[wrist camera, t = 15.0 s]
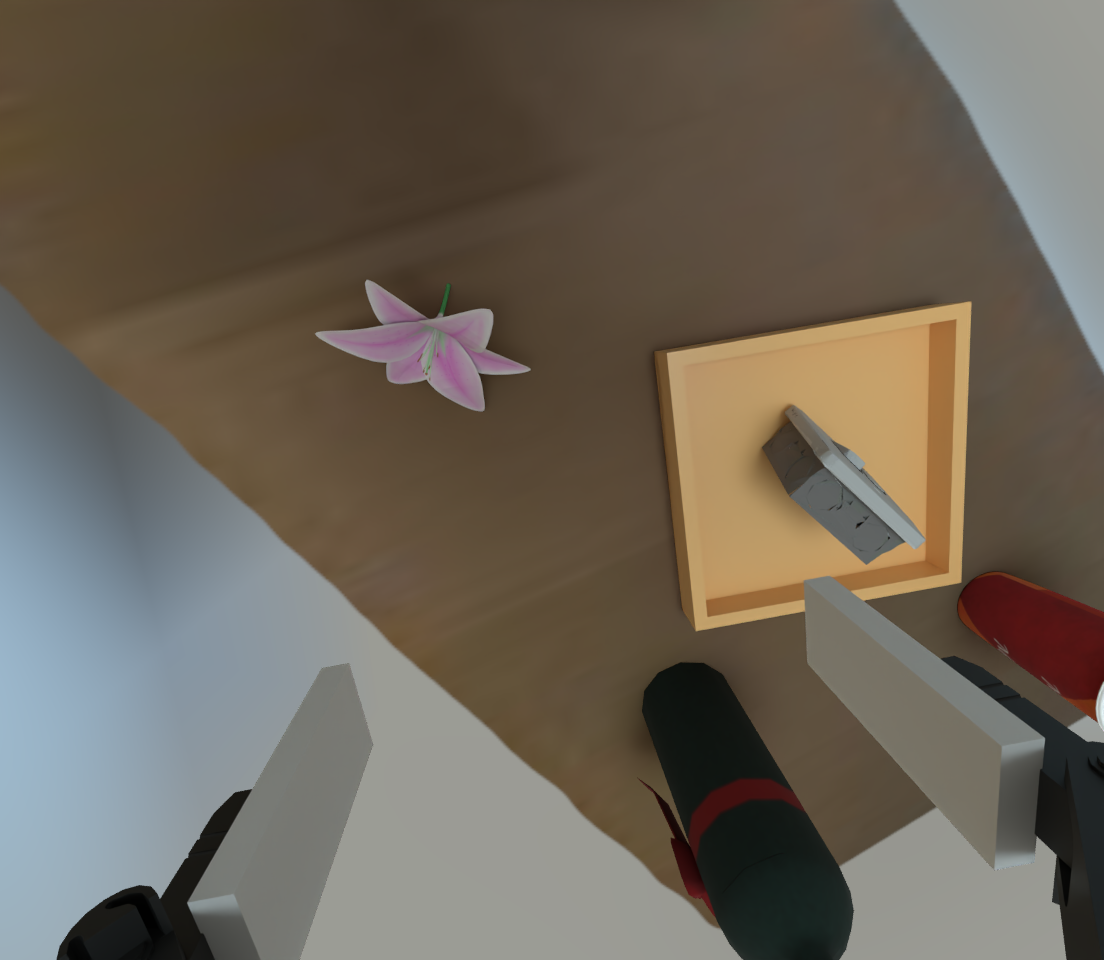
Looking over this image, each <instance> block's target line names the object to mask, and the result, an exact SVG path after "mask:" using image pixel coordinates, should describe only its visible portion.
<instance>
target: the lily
mask: <svg viewBox="0 0 1104 960" xmlns="http://www.w3.org/2000/svg"><path fill="white" fill-rule="evenodd" d="M365 287H366V292H367V295H368V298H369V302H370V304H371V306H372V309H373V311H374V313H375V315H376V316H377V318H378V320H379V321H380V322H381V323H382V324H383V326H377V327H371V328H365V329H357V330H344V331H322V332H317V333H316V334H315V335H316V336H317V337H319V338H320V339H321V340H323V341H325V342H327V343H328V344H330V345H332V346H335V347H337V348H339V349H341V350H343V351H345V352H348V353H350V354H353V355H355V356H358V357H360V358H364V359H367V360H371V361H374V362H384V363H387V365H386V374H387V379H388V381H390V382H392V383H395V384H406V383H414V382H419V381H423V380H426V379H427V381H428V382H429V384H430V385H431V386H432V387H433V388H434V389H435V390H436V391H438V392H439V393H441V394H442V395H443V396H445V397H446V398H448V399H450V400H452V401H454V402H456V403H457V404H460V405H462V406H464V407H466V408H469V409H472V410H474V411H481V412H482V411H484V409H485V402H484V396H483V389H482V383H481V379H480V376H479V374H478V373H482V374H491V375H505V374H518V373H524V372H528V371H530V370H531V369H530V368H529V367H526V366H524V365H522V364H519V363H517V362H515V361H512V360H510V359H508V358H505V357H503V356H500V355H498V354H496V353H493V352H491V351H489V350H487V349H486V346H487V344H488V341H489V337H490V334H491V330H492V326H493V313H492V312H491V310H490V309H483V308H482V309H476V310H470V311H466V312H462V313H458V314H454V315H450V316H446V317H443V315H444V311H445V308H446V304H447V300H448V296H449V292H450V287H451V285H450V284H449V283H448V284H447V285H446V289H445V293H444V297H443V301H442V305H441V308H440V311H439V314H438V316H437V317H436V318H434V319H429V318H427V317H425V316H424V315H422V314H420V313H419V312H417V311H416V310H414V309H413V308H411V307H410V306H408V305H407V304H405V303H404V302H403V301H401V300H400V299H398V298H397V297H395V296H394V295H392V294H391V293H389V292H388V291H386V290H385V289H383V288H382V287H380V286H379V285H377V284H376V283H374V282H372V281H370V280H366V282H365Z"/></svg>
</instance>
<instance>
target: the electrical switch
mask: <svg viewBox="0 0 1104 960" xmlns="http://www.w3.org/2000/svg"><path fill="white" fill-rule="evenodd" d="M785 415H786V416H787V417H788V418H789V419H790V422H789V423H787V424H786V425H785V426H784V427H783V428H781V429H780V430H779V431H778V433H777V434H776V435H775V436H774V437H773V438H772V439H771V440H770V441H768V442H767V443H766V444H765V445H764V446H763V447H762V449H763V450H764V452H765V454H766V456H767V458H768V459H769V461H770V463H771V465H772V467H773V468H774V470H775V472H776V474H777V476H778V477H779V479H780V481H781V483H782V485H783V486H784V488H785V490H786V492H787V494H788V495H789V494H790V493H792V492H793V491H794V492H793V493H792V494H790V495H789V497H791V498H792V499H793V500H794V501H795V502H796V503H797V504H798V505H800V506H801V507H802V508H803V509H804V510H805V511H806V512H807V513H808V514H810V515H811V516H812V517H813V518H814V519H815V520H816V521H817V522H819V523H820V524H821V525H822V526H823V527H824V528H825V529H826V530H828V531H829V532H830V533H831V534H832V535H833V536H834V537H835V538H836V539H838V540H839V541H840V542H841V543H842V544H843V545H844V546H845V547H847V548H848V549H849V550H850V551H851V552H852V553H853V554H854V555H856V556H857V557H858V558H859V559H860V560H861V561H862V562H863V563H864V564H866V565H867V564H869V563H870V562H871V561H873V560H874V559H876V558H877V557H878V556H880V555H881V554H883V553H886V552H888V551H891V550H892V549H894V548H895V547H897V546H898V545H900V544H902V543H905V542H907V543H908V544H909V545H910V546H911V547H912V548H913V549H917V548H918V547H919V546H920V545H921V544H922V543H924V542H925V541H926V539H925V538H924V536H923V535H922V534H921V532H920V531H919V530H918V529H917V527H916V526H915V525H914V523H913V522H912V521H911V520H910V519H909V517H908V516H907V515H906V514H905V513H904V512H903V511H902V510H901V509H900V507H899V506H898V505H897V504H896V503H895V502H894V501H893V500H892V499H891V497H890V496H889V495H888V494H887V493H886V492H885V491H884V490H883V489H882V487H881V486H880V485H879V484H878V483H877V482H876V481H875V480H874V479H873V478H872V476H871V475H870V474H869V473H868V472H866V471H865V470H864V469H863V468H862V467H863V466H864V465H865V462H864V461H863V460H862V459H861V458H860V457H859V456H858V455H857V454H855V453H854V452H853V451H851V450H850V449H848V448H846V447H844V446H842V445H840V444H838V443H837V442H835V441H834V440H833V439H832V438H831V437H829V436H828V435H827V434H826V433H825V432H824V431H823V430H822V429H821V428H820V427H819V426H818V425H817V424H816V423H815V422H814V421H813V420H812V419H810V418H809V417H808V416H807V415H806V414H805V413H804V412H803V411H802V410H800V409H799V408H798V407H796V406H795V405H793V406H791V407H790V408H789V409H788V410H786V411H785ZM786 476H787V477H786ZM801 485H802V486H801ZM797 488H798V489H797ZM796 489H797V490H796ZM809 505H810V506H811V508H810V506H809Z"/></svg>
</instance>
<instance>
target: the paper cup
mask: <svg viewBox="0 0 1104 960" xmlns="http://www.w3.org/2000/svg"><path fill="white" fill-rule="evenodd" d="M958 614H959V617H960V619H961V621H962V622H963V623H964V624H965V625H966V626H967V627H968V628H970V629H971V630H972V631H973V632H975V633H976V634H977V635H979V636H980V637H981V638H983V639H984V640H985V641H987V642H988V643H989V644H991V645H992V646H993V647H995V648H996V649H997V650H999V651H1000V652H1002V653H1003V654H1004V655H1006V656H1007V657H1008V658H1010V659H1011V660H1012V661H1014V662H1015V663H1017V664H1018V665H1019V666H1021V667H1022V668H1023V669H1025V670H1026V671H1028V672H1029V673H1030V674H1032V675H1033V676H1034V677H1036V678H1037V679H1039V680H1040V681H1041V682H1043V683H1044V684H1045V685H1047V686H1048V687H1050V688H1051V689H1052V690H1054V691H1055V692H1056V693H1058V694H1059V695H1061V696H1062V697H1063V698H1065V699H1066V700H1067V701H1069V702H1070V703H1072V704H1073V705H1074V706H1076V707H1077V708H1078V709H1080V710H1081V711H1083V712H1084V713H1085V714H1087V715H1088V716H1089V717H1091V718H1092V719H1093V720H1095V721H1096V722H1098V724H1099V725H1100V727H1101V729H1102V730H1103V731H1104V612H1102V611H1100V610H1097V609H1095V608H1092V607H1090V606H1087V605H1085V604H1082V603H1080V602H1077V601H1075V600H1073V599H1070V598H1068V597H1065V596H1063V595H1060V594H1058V593H1055V592H1053V591H1050V590H1048V589H1045V588H1043V587H1040V586H1038V585H1035V584H1033V583H1030V582H1028V581H1025V580H1023V579H1020V578H1017V577H1015V576H1012V575H1009V574H1006V573H1002V572H988V573H985V574H982V575H980V576H978V577H976V578H975V579H973V580H972V581H971V582H970V583H969V584H968V585H967V586H966V587H965V588H964V590H963V591H962V593H961V595H960V597H959V600H958Z"/></svg>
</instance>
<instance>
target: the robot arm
mask: <svg viewBox="0 0 1104 960" xmlns="http://www.w3.org/2000/svg"><path fill="white" fill-rule="evenodd" d="M804 598H805V620H806V642H807V663H808V665H809V666H810V667H811V668H812V669H813V670H814V671H815V672H816V673H817V675H818V676H819V677H820V678H821V679H822V680H823V681H824V682H825V683H826V685H827V686H828V687H829V688H830V689H831V690H832V691H833V692H834V693H835V695H836V696H837V697H838V698H839V699H840V700H841V701H842V702H843V703H844V705H845V706H846V707H847V708H848V709H849V710H850V711H851V712H852V713H853V714H854V716H855V717H856V718H857V719H858V720H859V721H860V722H861V723H862V724H863V726H864V727H865V728H866V729H867V730H868V731H869V732H870V733H871V734H872V736H873V737H874V738H875V739H876V740H877V741H878V742H879V743H880V744H881V746H882V747H883V748H884V749H885V750H886V751H887V752H888V753H889V754H890V755H891V757H892V758H893V759H894V760H895V761H896V762H897V763H898V764H899V765H900V767H901V768H902V769H903V770H904V771H905V772H906V773H907V774H908V775H909V777H910V778H911V779H912V780H913V781H914V782H915V783H916V784H917V785H918V787H919V788H920V789H921V790H922V791H923V792H924V793H925V794H926V795H927V797H928V798H929V799H930V800H931V801H932V802H933V803H934V804H935V805H936V806H937V808H938V809H939V810H940V811H941V812H942V813H943V814H944V815H945V816H946V818H947V819H948V820H949V821H950V822H951V823H952V824H953V825H954V826H955V828H956V829H957V830H958V831H959V832H960V833H961V834H962V835H963V836H964V838H965V839H966V840H967V841H968V842H969V843H970V844H971V845H972V846H973V847H974V849H975V850H976V851H977V852H978V853H979V854H980V855H981V856H982V857H983V859H984V860H985V861H986V862H987V863H988V864H989V865H990V866H991V867H992V868H993V870H999V869H1004V868H1009V867H1014V866H1019V865H1024V864H1029V863H1034V860H1035V848H1036V837H1037V836H1038V838H1039V839H1041V840H1042V841H1043V842H1044V843H1045V844H1046V845H1047V846H1048V847H1049V848H1050V849H1051V850H1052V851H1053V852H1054V853H1055V854H1056V855H1057V858H1056V869H1055V878H1054V889H1053V898H1052V902H1054V903H1056V904H1059V905H1060V911H1061V919H1062V927H1063V935H1064V943H1065V951H1066V959H1067V960H1104V743H1101V742H1093V741H1092V742H1087V741H1085V740H1084V739H1082V738H1081V737H1080V736H1078V735H1077V734H1075V733H1074V732H1072V731H1071V730H1070V729H1068V728H1067V727H1065V726H1064V725H1063V724H1061V723H1060V722H1058V721H1057V720H1055V719H1054V718H1053V717H1051V716H1050V715H1048V714H1047V713H1046V712H1044V711H1043V710H1041V709H1040V708H1038V707H1037V706H1036V705H1034V704H1033V703H1031V702H1030V701H1029V700H1027V699H1026V698H1021V696H1020V694H1019V693H1017V692H1016V691H1014V690H1013V689H1012V688H1010V687H1009V686H1007V685H1003V683H1002V681H1000V680H999V679H997V678H996V677H994V676H993V675H992V674H990V673H989V672H987V671H986V670H985V669H983V668H982V667H980V666H977V665H975V664H972V663H970V662H968V661H965V660H963V659H961V658H958V657H956V656H952V657H947V658H941V659H940V658H938V657H937V656H936V655H934V654H933V653H932V652H930V651H929V650H928V649H926V648H925V647H924V646H922V645H921V644H920V643H918V642H917V641H916V640H914V639H913V638H912V637H910V636H909V635H908V634H906V633H905V632H904V631H902V630H901V629H900V628H898V627H897V626H896V625H894V624H893V623H892V622H890V621H889V620H888V619H886V618H885V617H884V616H883V615H881V614H880V613H879V612H877V611H876V610H875V609H873V608H872V607H871V606H869V605H868V604H867V603H865V602H864V601H863V600H861V599H860V598H859V597H857V596H856V595H855V594H853V593H852V592H851V591H849V590H848V589H847V588H845V587H844V586H843V585H841V584H840V583H839V582H837V581H836V580H835V579H833V578H832V577H831V576H825V577H819V578H814V579H808V580H804ZM372 746H373V743H372V739H371V736H370V733H369V729H368V726H367V722H366V719H365V715H364V712H363V709H362V705H361V702H360V698H359V695H358V692H357V689H356V685H355V682H354V678H353V675H352V672H351V668H350V665H349V663H347V664H342V665H336V666H331V667H326V668H322V669H321V671H320V672H319V674H318V676H317V678H316V680H315V681H314V683H313V685H312V686H311V688H310V690H309V692H308V693H307V695H306V697H305V699H304V700H303V702H302V704H301V705H300V707H299V709H298V711H297V713H296V714H295V716H294V718H293V719H292V721H291V723H290V725H289V726H288V728H287V730H286V732H285V733H284V735H283V737H282V739H281V740H280V742H279V744H278V746H277V747H276V749H275V751H274V753H273V754H272V756H271V758H270V760H269V761H268V763H267V765H266V766H265V768H264V770H263V772H262V773H261V775H260V777H259V779H258V780H257V782H256V784H255V786H254V787H253V789H250V790H245V791H240V792H235V793H234V794H233V795H232V796H231V797H230V798H229V799H228V800H227V801H226V802H225V803H224V804H223V805H222V806H221V807H220V808H219V809H218V810H217V811H216V812H215V813H214V814H213V816H212V817H211V819H210V820H209V822H208V824H207V825H206V827H205V828H204V830H203V831H202V833H201V835H200V839H199V840H197V841H196V843H195V844H194V846H193V847H192V849H191V851H190V852H189V856H188V858H186V859H185V860H184V862H183V863H182V865H181V867H180V868H179V870H178V871H177V873H176V874H175V876H174V878H173V879H172V881H171V882H170V884H169V886H168V887H167V889H166V890H165V892H164V894H163V895H162V897H161V898H160V899H159V897H158V894H157V893H156V892H155V890H154V889H153V888H152V887H151V886H142V885H139V886H135V887H131V888H128V889H124V890H122V891H120V892H118V893H116V894H114V895H112V896H110V897H109V898H107V899H105V900H103V901H102V902H101V903H99V904H98V905H97V906H95V907H94V908H93V909H91V910H90V911H89V912H87V913H86V914H85V915H84V916H83V917H82V918H81V919H80V920H79V922H77V924H76V925H75V926H74V927H73V928H72V929H71V930H70V932H69V933H68V934H67V936H66V938H65V939H64V941H63V942H62V944H61V945H60V948H59V951H58V956H57V960H300V957H301V954H302V951H303V948H304V945H305V942H306V939H307V936H308V933H309V931H310V927H311V925H312V922H313V919H314V916H315V913H316V910H317V907H318V904H319V901H320V898H321V895H322V892H323V889H324V887H325V884H326V881H327V877H328V875H329V872H330V869H331V866H332V863H333V860H334V857H335V854H336V852H337V849H338V845H339V842H340V840H341V837H342V834H343V831H344V828H345V825H346V822H347V819H348V816H349V813H350V810H351V807H352V804H353V802H354V799H355V796H356V793H357V790H358V787H359V784H360V781H361V778H362V775H363V772H364V770H365V767H366V764H367V761H368V758H369V755H370V752H371V749H372Z"/></svg>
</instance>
